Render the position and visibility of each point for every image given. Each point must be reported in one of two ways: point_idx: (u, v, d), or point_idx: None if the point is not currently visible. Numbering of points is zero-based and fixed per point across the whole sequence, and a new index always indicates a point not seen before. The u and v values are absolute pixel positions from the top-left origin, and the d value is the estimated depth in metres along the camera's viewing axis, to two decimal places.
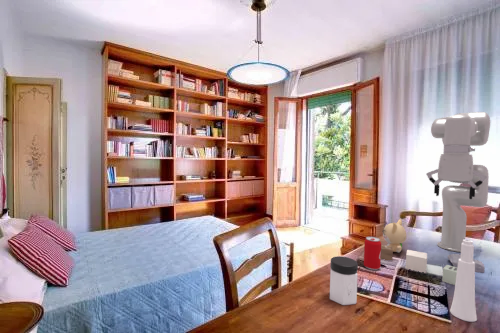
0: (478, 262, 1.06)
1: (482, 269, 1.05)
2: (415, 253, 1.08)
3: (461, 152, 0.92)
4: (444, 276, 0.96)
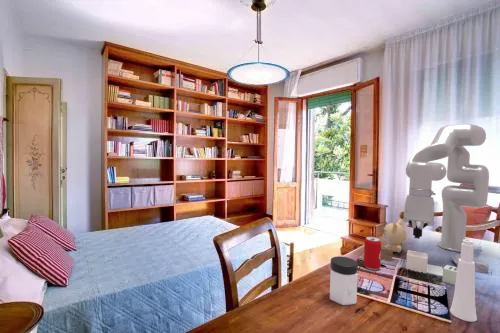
0: (482, 262, 1.05)
1: (486, 269, 1.04)
2: (415, 254, 1.08)
3: (423, 196, 1.03)
4: (444, 276, 0.96)
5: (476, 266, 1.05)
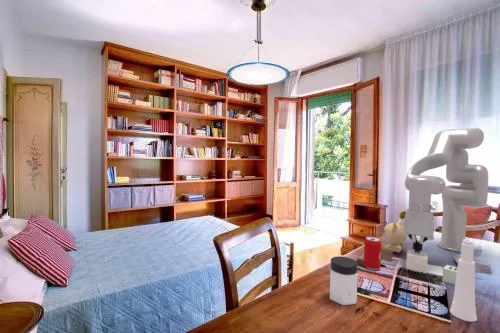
0: (484, 263, 1.05)
1: (488, 270, 1.04)
2: (415, 254, 1.08)
3: (422, 211, 1.03)
4: (444, 276, 0.96)
5: (478, 266, 1.05)
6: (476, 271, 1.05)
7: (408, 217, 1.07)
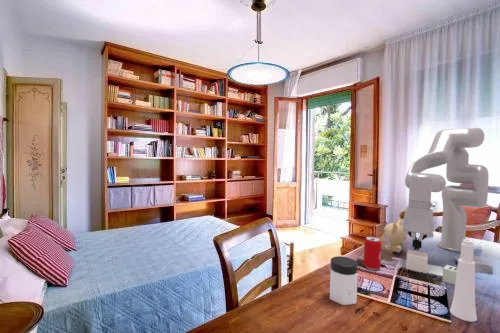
0: (486, 263, 1.05)
1: (490, 270, 1.04)
2: (415, 254, 1.08)
3: (422, 208, 1.03)
4: (444, 276, 0.96)
5: (480, 266, 1.05)
6: (478, 271, 1.05)
7: (408, 214, 1.07)
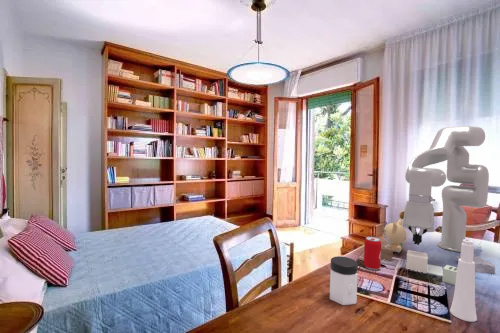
0: (488, 263, 1.05)
1: (493, 270, 1.04)
2: (415, 254, 1.08)
3: (422, 202, 1.03)
4: (444, 276, 0.96)
5: (482, 267, 1.05)
6: (480, 271, 1.05)
7: (408, 209, 1.07)
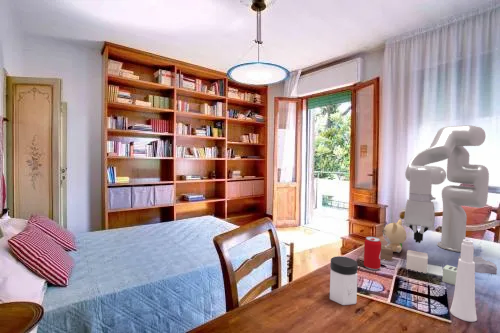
0: (490, 263, 1.05)
1: (494, 270, 1.04)
2: (415, 254, 1.08)
3: (423, 201, 1.03)
4: (444, 276, 0.96)
5: (484, 267, 1.05)
6: (482, 272, 1.05)
7: (409, 207, 1.07)
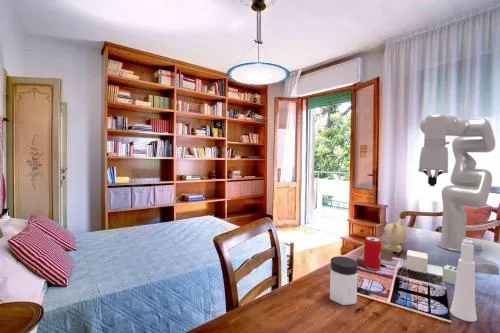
0: (493, 263, 1.05)
1: (497, 270, 1.04)
2: (415, 254, 1.08)
3: (438, 145, 1.10)
4: (444, 276, 0.96)
5: (487, 267, 1.05)
6: (484, 272, 1.04)
7: (424, 153, 1.14)
